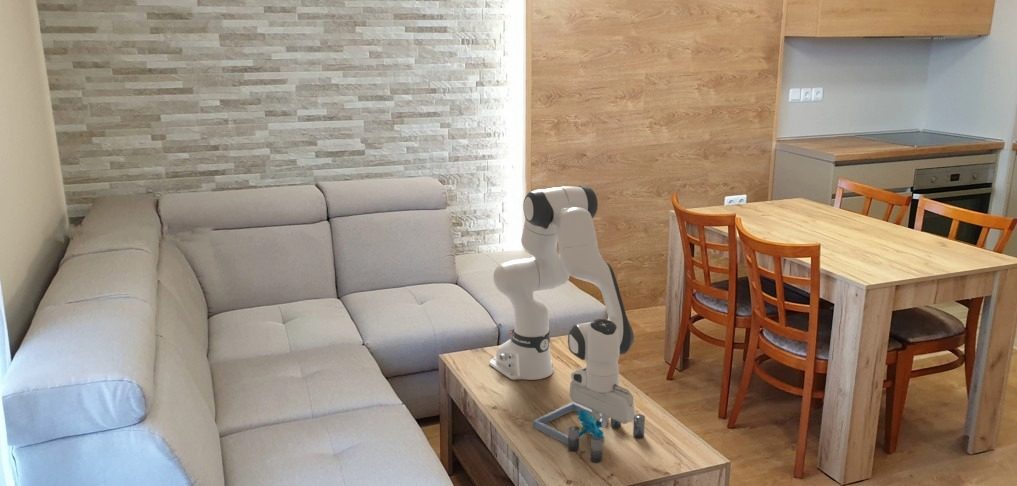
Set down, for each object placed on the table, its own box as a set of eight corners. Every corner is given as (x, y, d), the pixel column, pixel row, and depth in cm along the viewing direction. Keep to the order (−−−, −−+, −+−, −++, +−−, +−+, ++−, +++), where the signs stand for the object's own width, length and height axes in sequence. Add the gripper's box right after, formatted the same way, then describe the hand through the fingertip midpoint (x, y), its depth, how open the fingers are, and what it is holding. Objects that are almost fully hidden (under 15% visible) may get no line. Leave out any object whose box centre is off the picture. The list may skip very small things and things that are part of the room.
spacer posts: (565, 448, 210) (565, 428, 208) (615, 422, 224) (615, 403, 222) (596, 464, 202) (597, 443, 201) (646, 436, 216) (647, 416, 215)
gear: (604, 443, 209) (579, 415, 210) (588, 456, 210) (563, 429, 211) (607, 428, 220) (583, 402, 220) (592, 441, 221) (568, 415, 222)
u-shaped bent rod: (532, 427, 221) (532, 420, 221) (572, 407, 233) (573, 401, 232) (567, 444, 212) (568, 437, 211) (608, 423, 223) (608, 417, 223)
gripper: (640, 388, 205) (638, 435, 209) (581, 365, 219) (580, 409, 223) (625, 395, 201) (623, 443, 204) (566, 371, 215) (565, 417, 219)
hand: (600, 425), depth 214 cm, fingers closed
